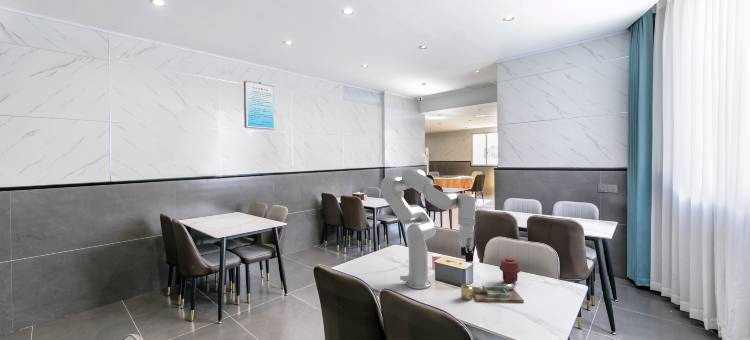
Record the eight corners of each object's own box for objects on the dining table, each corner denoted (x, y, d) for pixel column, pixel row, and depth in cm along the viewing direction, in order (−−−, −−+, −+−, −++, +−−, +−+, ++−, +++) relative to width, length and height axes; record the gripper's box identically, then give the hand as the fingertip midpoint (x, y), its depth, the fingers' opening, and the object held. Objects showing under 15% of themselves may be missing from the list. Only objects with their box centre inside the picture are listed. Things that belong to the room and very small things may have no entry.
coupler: (462, 300, 144) (462, 286, 144) (460, 296, 149) (460, 282, 149) (473, 301, 143) (473, 287, 143) (470, 296, 148) (470, 283, 148)
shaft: (507, 293, 150) (507, 285, 150) (501, 290, 153) (501, 283, 153) (515, 291, 152) (515, 283, 152) (509, 288, 155) (509, 281, 155)
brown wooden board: (477, 301, 143) (477, 292, 143) (470, 289, 157) (470, 280, 157) (523, 302, 141) (523, 292, 141) (512, 290, 155) (512, 281, 155)
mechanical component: (518, 279, 169) (522, 287, 159) (498, 278, 171) (501, 285, 161) (518, 256, 168) (522, 262, 159) (497, 255, 170) (501, 261, 161)
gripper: (454, 217, 155) (455, 253, 155) (462, 224, 137) (462, 264, 138) (470, 217, 154) (470, 253, 154) (479, 224, 137) (480, 264, 137)
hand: (466, 258), depth 146 cm, fingers open, 9 cm apart
